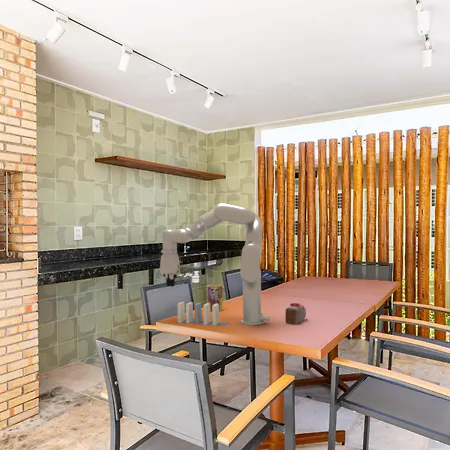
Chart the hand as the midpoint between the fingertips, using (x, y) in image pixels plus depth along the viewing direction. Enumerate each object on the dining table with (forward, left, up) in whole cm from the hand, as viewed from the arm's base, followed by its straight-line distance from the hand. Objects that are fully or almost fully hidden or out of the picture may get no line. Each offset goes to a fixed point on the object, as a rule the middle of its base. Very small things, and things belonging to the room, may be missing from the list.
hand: (170, 286), depth 212 cm
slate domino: (-16, 0, -19) cm, 25 cm away
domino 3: (-21, 0, -19) cm, 28 cm away
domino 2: (-11, 0, -19) cm, 22 cm away
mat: (-19, 0, -19) cm, 27 cm away
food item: (-64, -18, -19) cm, 69 cm away
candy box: (-13, -31, -19) cm, 39 cm away
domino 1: (-6, 0, -19) cm, 20 cm away
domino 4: (-26, 0, -19) cm, 32 cm away
